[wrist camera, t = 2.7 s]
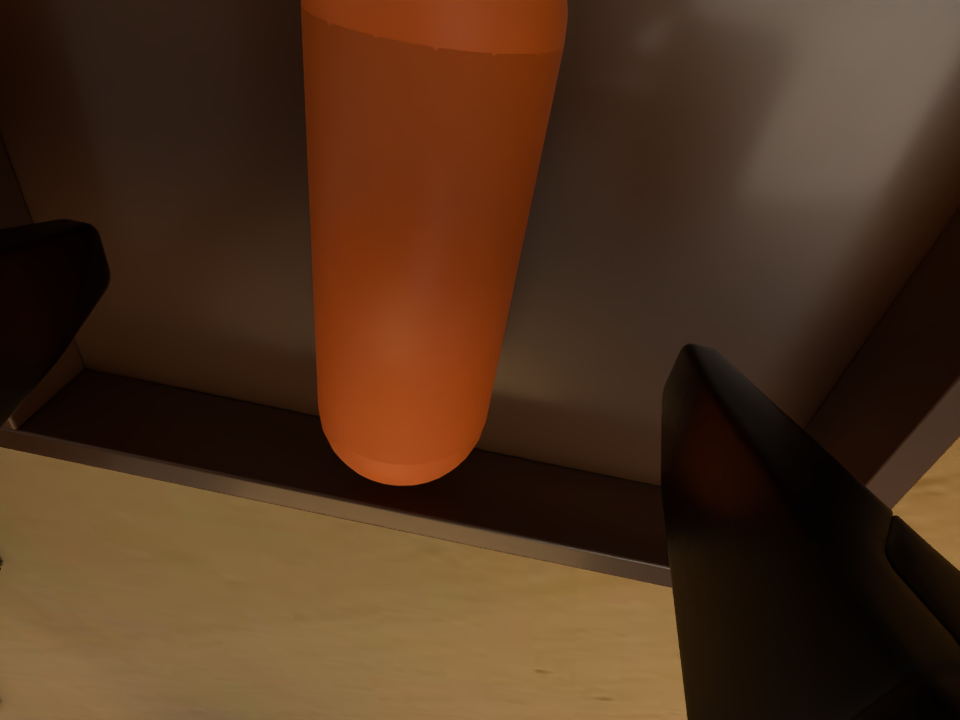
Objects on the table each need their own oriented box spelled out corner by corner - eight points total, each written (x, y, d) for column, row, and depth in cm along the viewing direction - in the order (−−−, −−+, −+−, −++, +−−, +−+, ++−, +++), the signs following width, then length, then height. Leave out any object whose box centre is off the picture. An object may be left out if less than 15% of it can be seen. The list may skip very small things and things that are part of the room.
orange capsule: (485, 420, 15) (462, 537, 12) (349, 391, 15) (295, 501, 12) (596, -117, 8) (603, -136, 5) (351, -162, 8) (232, -204, 6)
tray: (763, 514, 16) (793, 614, 14) (79, 373, 17) (-3, 447, 14) (1276, -193, 7) (1609, -247, 5) (-231, -452, 8) (-585, -615, 5)
